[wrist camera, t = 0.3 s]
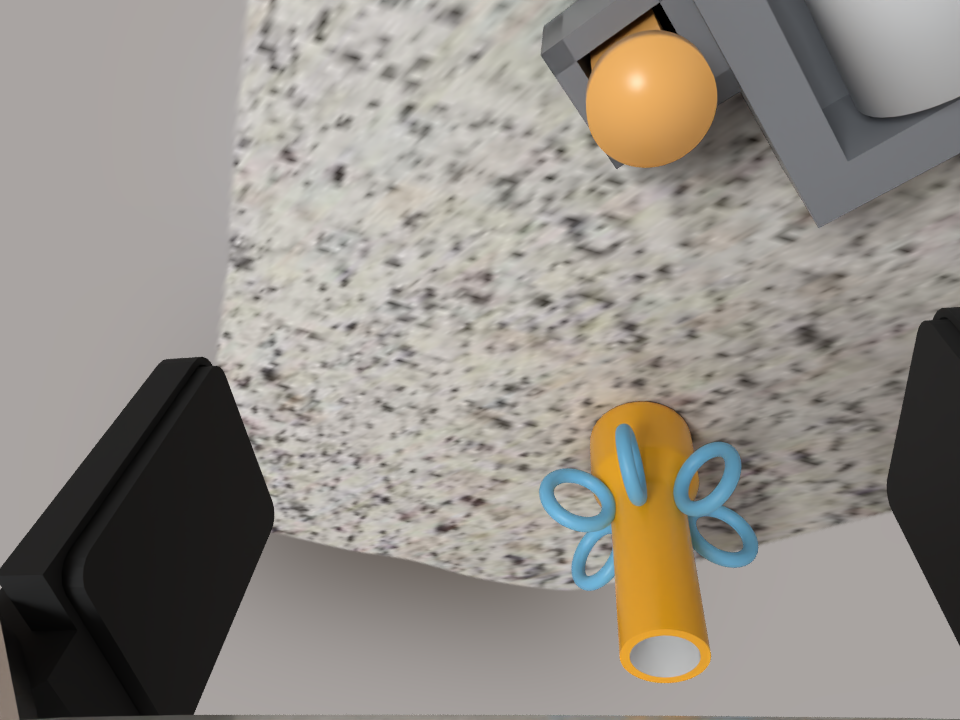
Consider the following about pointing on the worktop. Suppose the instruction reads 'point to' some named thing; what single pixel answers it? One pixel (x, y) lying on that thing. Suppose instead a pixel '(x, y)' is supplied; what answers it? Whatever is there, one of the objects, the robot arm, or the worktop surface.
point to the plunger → (649, 94)
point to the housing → (774, 94)
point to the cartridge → (893, 51)
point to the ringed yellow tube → (652, 534)
